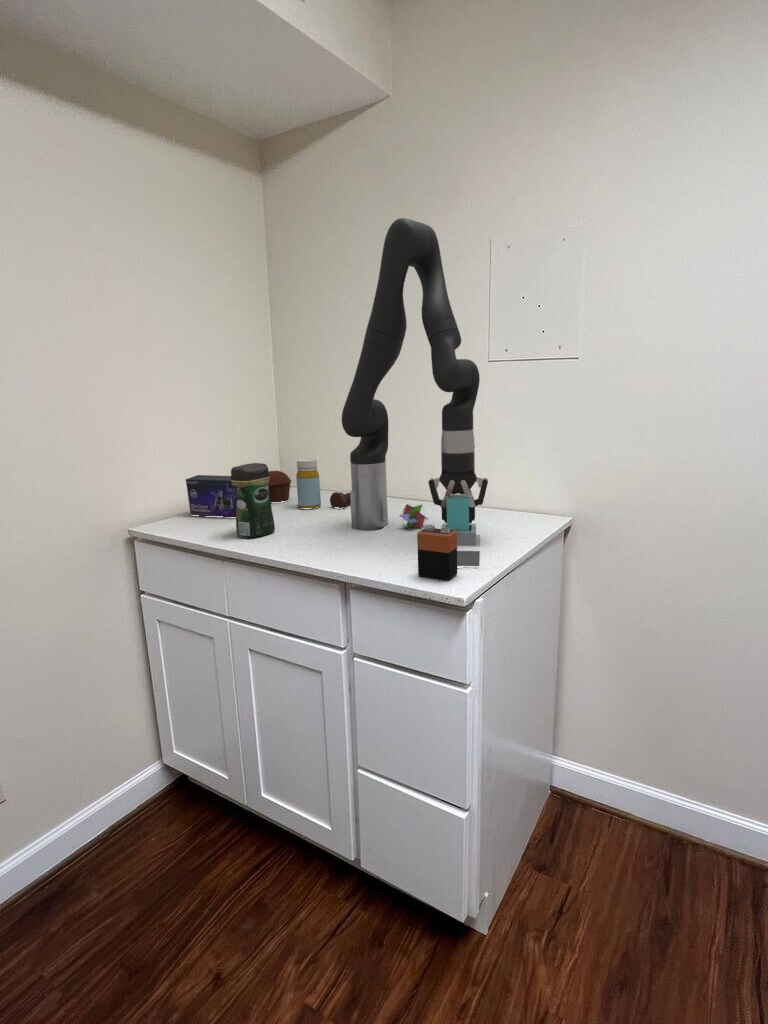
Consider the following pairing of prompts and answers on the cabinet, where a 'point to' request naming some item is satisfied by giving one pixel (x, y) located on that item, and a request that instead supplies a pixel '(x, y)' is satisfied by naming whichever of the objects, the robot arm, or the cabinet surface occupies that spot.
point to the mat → (468, 558)
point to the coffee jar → (252, 500)
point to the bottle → (308, 483)
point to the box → (211, 496)
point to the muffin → (279, 486)
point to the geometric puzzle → (413, 516)
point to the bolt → (339, 499)
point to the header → (467, 537)
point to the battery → (437, 552)
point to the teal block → (458, 512)
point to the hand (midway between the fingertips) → (458, 521)
